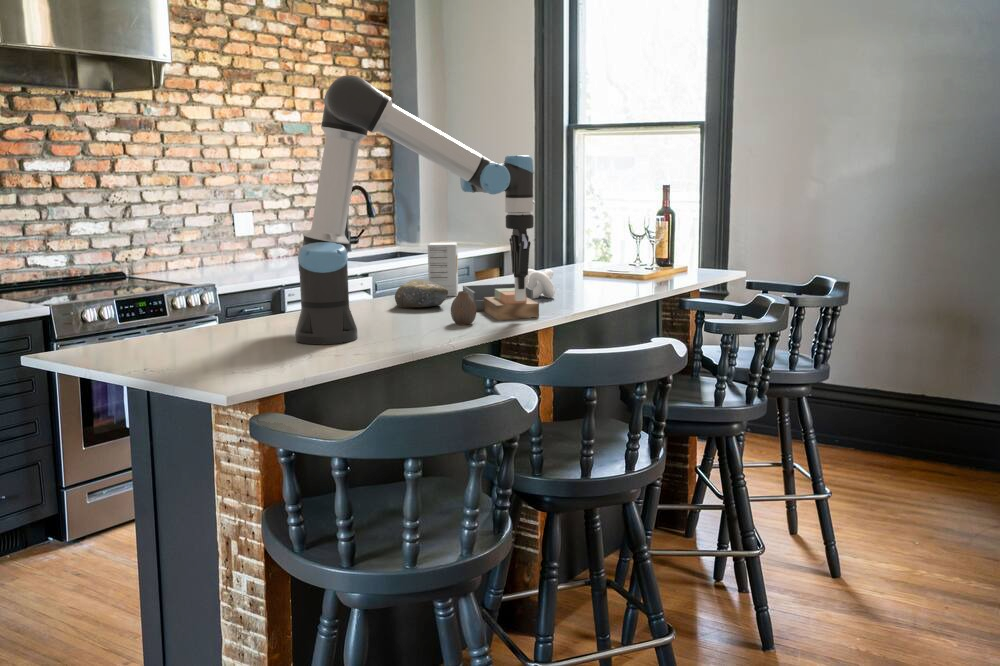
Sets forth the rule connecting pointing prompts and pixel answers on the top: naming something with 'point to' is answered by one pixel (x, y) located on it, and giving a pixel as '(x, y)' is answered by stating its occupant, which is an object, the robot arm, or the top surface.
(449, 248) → the supplement box
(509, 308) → the wooden block
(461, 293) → the vase
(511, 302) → the tile
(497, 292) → the tile
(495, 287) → the box
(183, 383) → the top surface
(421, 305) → the stone
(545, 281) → the white knot sculpture
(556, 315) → the top surface
